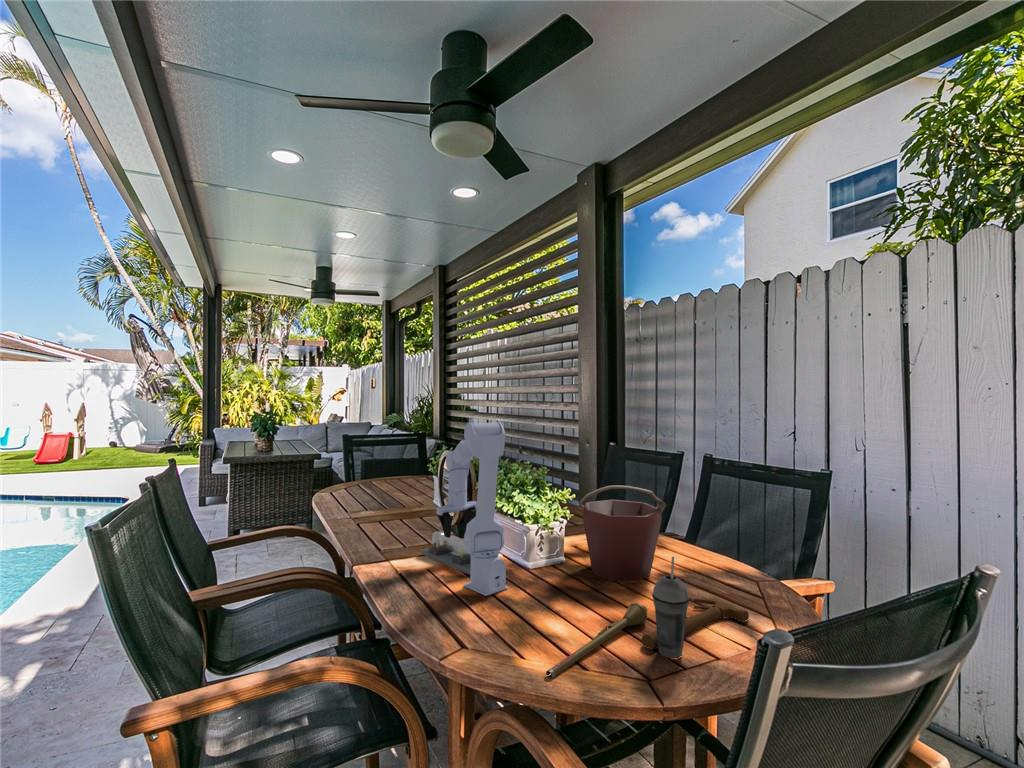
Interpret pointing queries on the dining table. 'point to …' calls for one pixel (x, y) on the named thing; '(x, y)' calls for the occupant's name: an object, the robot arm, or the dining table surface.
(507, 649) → the dining table surface
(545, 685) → the dining table surface
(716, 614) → the hammer
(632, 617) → the panzerfaust rocket launcher
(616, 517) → the bucket
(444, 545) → the grey bar
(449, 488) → the robot arm
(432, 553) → the peg rack
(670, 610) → the beverage cup
